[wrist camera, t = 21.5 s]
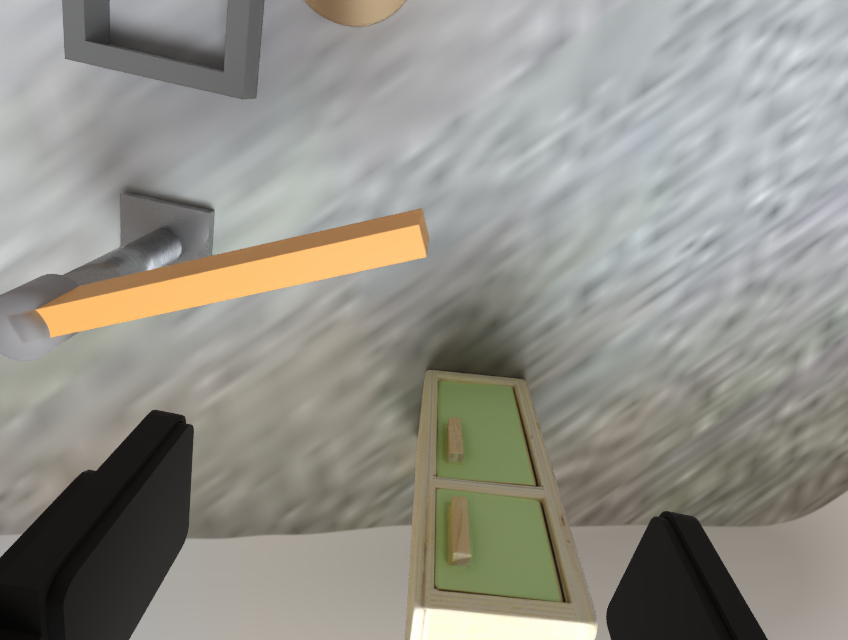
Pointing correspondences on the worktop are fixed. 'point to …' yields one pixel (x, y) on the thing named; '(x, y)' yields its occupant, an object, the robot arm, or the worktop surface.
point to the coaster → (355, 10)
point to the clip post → (151, 239)
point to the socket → (241, 62)
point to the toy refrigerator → (490, 521)
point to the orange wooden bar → (200, 281)
